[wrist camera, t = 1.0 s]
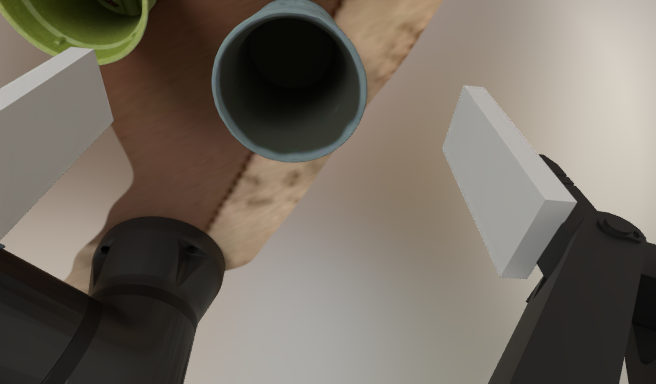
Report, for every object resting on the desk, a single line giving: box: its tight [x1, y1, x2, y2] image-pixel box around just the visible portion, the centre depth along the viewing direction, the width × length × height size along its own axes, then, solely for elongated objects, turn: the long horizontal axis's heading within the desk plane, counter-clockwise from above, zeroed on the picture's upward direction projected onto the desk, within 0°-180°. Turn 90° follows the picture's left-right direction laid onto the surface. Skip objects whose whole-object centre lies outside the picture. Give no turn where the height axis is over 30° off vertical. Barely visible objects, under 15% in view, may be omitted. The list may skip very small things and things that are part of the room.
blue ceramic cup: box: [212, 0, 367, 162], centre depth 29 cm, size 10×10×12 cm
